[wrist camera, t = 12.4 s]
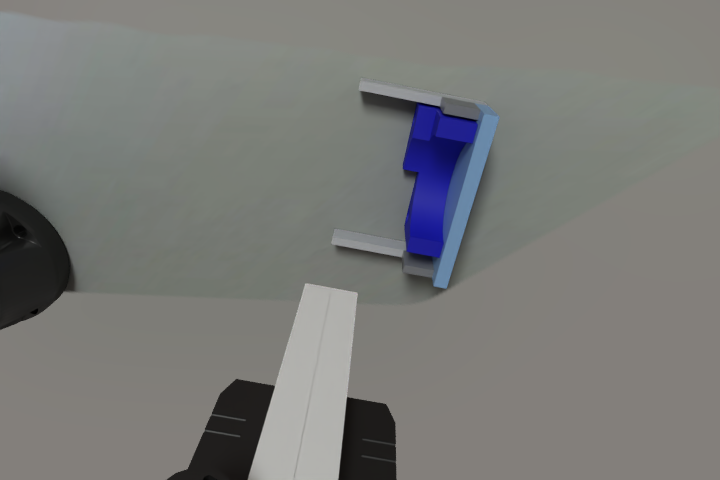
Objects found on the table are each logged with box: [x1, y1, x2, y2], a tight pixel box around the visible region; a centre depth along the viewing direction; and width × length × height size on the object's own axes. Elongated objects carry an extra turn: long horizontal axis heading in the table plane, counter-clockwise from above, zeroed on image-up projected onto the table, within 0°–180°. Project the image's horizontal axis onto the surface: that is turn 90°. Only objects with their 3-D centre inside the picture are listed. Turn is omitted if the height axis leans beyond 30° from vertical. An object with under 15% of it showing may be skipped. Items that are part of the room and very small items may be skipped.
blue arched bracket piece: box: [403, 102, 478, 258], centre depth 43 cm, size 12×4×6 cm, turn 170°
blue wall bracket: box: [332, 77, 499, 289], centre depth 43 cm, size 11×16×6 cm
